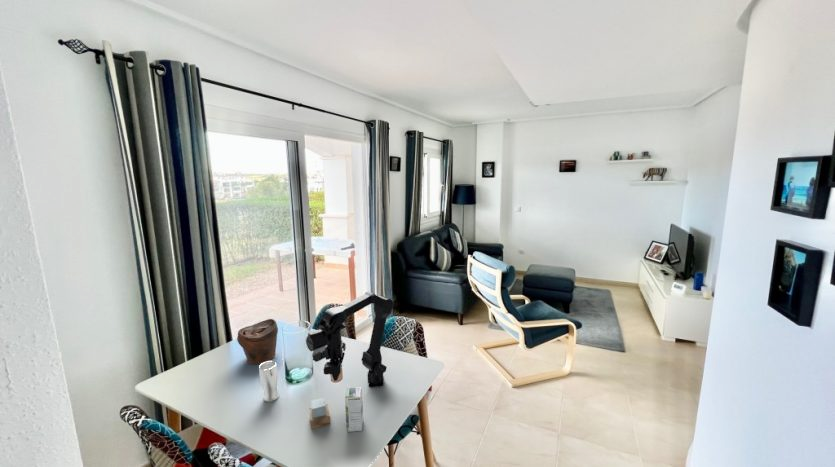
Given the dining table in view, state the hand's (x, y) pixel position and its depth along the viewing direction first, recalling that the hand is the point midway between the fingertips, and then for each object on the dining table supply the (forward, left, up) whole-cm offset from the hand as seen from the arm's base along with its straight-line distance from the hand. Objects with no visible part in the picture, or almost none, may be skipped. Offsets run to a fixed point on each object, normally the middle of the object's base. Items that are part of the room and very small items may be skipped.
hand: (336, 376), depth 141 cm
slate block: (+6, +9, -9) cm, 14 cm away
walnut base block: (+6, +9, -13) cm, 17 cm away
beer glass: (+29, -7, -13) cm, 32 cm away
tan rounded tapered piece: (0, 0, -1) cm, 1 cm away
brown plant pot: (+44, -39, -13) cm, 60 cm away
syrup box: (-8, +13, -13) cm, 20 cm away
